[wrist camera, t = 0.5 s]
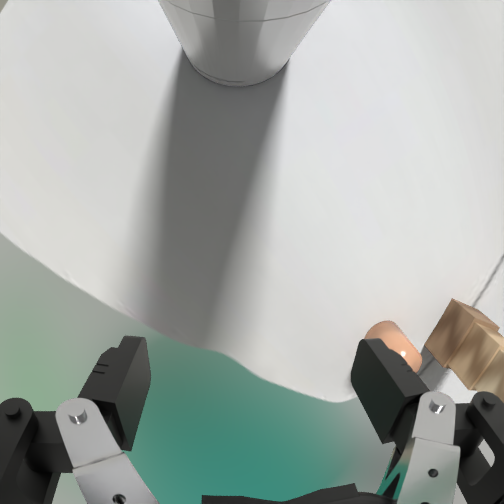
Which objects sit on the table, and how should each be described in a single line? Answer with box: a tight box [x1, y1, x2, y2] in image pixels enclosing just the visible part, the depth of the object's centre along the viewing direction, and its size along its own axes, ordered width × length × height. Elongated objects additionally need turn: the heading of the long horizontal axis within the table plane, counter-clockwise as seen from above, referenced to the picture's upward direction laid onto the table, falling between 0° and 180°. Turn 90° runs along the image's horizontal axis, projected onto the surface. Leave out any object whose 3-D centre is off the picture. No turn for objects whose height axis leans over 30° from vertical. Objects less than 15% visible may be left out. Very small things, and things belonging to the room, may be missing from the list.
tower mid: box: [448, 322, 504, 391], centre depth 26 cm, size 6×6×5 cm
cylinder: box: [364, 321, 422, 373], centre depth 29 cm, size 5×5×6 cm
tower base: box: [424, 299, 499, 369], centre depth 31 cm, size 7×7×5 cm
